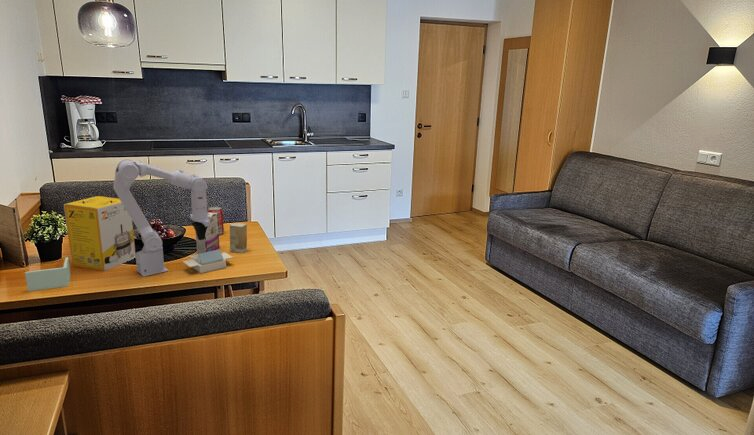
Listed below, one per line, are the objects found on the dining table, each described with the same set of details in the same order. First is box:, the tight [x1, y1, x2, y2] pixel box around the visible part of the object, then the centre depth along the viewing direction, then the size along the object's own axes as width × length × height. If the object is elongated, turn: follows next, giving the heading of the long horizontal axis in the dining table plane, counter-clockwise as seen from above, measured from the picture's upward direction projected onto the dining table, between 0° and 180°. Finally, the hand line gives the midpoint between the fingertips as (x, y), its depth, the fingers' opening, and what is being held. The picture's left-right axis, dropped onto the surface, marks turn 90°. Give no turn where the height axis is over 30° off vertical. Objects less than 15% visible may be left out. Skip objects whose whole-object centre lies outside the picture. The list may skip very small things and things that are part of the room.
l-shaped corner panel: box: [24, 256, 72, 292], centre depth 177 cm, size 12×12×8 cm
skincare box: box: [229, 222, 248, 254], centre depth 216 cm, size 6×4×12 cm
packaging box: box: [63, 195, 136, 272], centre depth 196 cm, size 16×16×25 cm
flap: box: [198, 248, 223, 264], centre depth 194 cm, size 9×4×1 cm
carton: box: [182, 252, 234, 275], centre depth 198 cm, size 18×13×6 cm
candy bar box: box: [194, 212, 220, 254], centre depth 213 cm, size 11×5×16 cm, turn 168°
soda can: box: [207, 206, 225, 236], centre depth 238 cm, size 7×7×13 cm
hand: (201, 239), depth 199 cm, fingers closed
